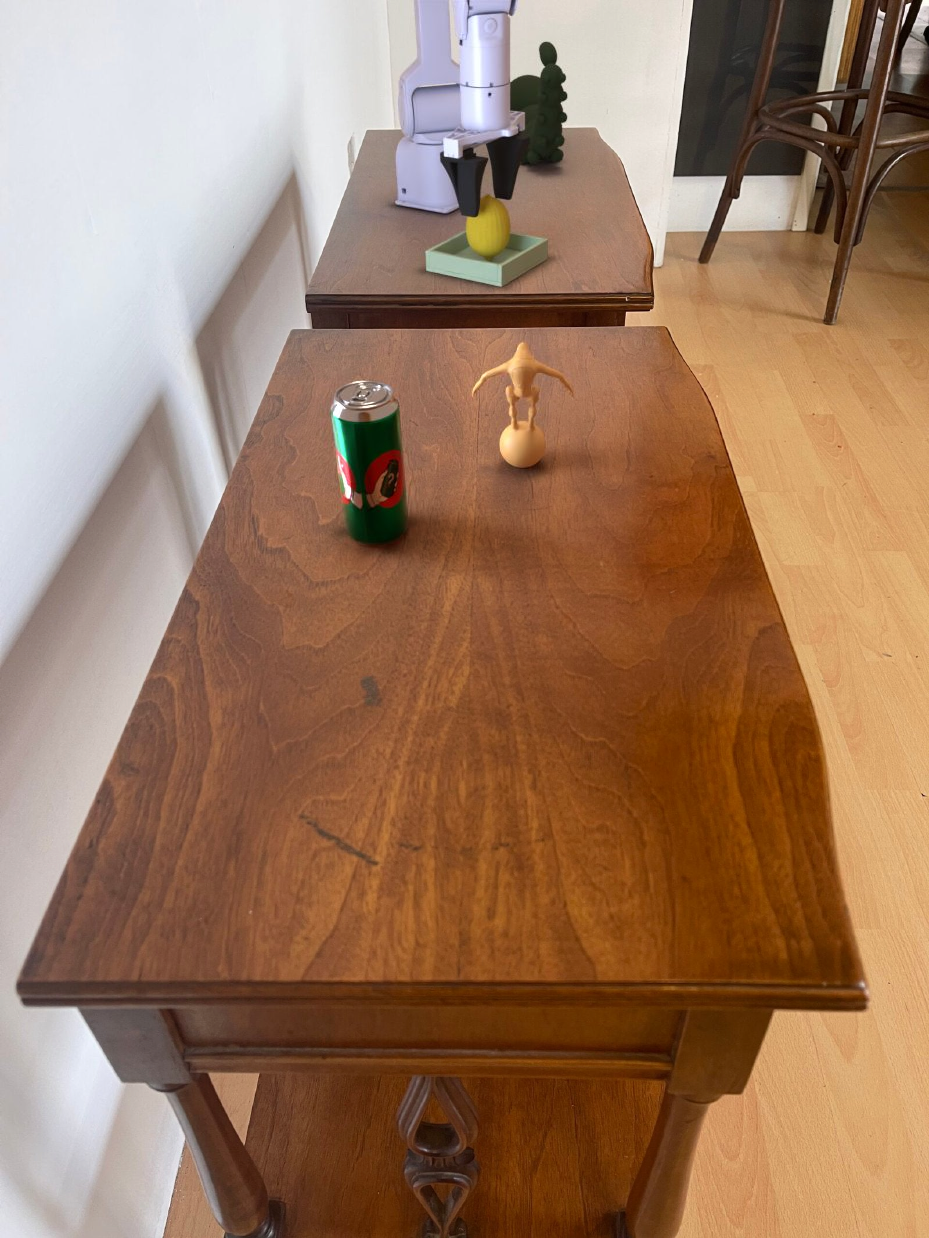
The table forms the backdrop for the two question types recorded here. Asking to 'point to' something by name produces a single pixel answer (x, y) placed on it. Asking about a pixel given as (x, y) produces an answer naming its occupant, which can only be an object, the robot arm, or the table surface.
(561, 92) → the dark green bumpy figure
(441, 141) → the robot arm
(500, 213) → the lemon
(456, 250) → the tray
